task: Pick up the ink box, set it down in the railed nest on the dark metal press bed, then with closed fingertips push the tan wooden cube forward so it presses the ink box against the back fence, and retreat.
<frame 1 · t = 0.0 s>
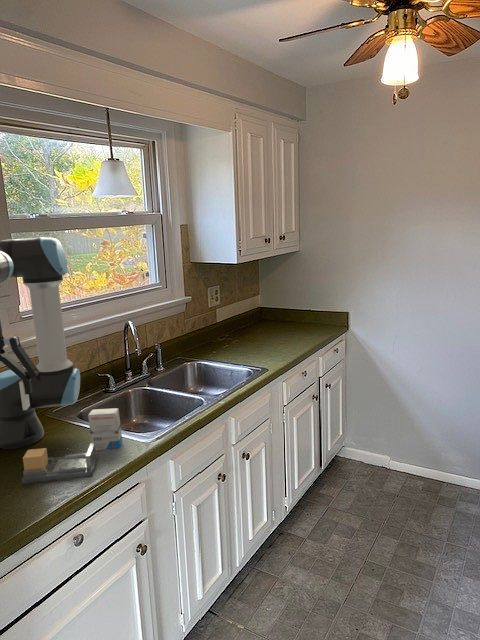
press bed: (65, 470, 137), on the worktop
tan wooden cube: (35, 460, 136), point 4 cm above the worktop, slide at 0.0 cm
ink box: (107, 447, 151), on the worktop
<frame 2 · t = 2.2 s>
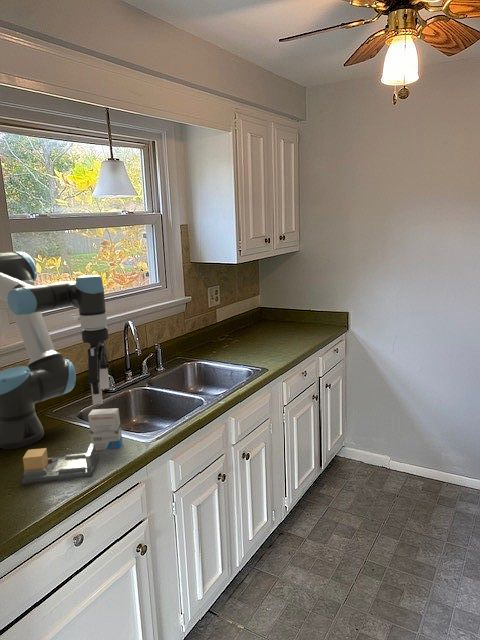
hand: (101, 395, 148), 17 cm above the worktop, fingers open, 13 cm apart
nothing on the worktop moved.
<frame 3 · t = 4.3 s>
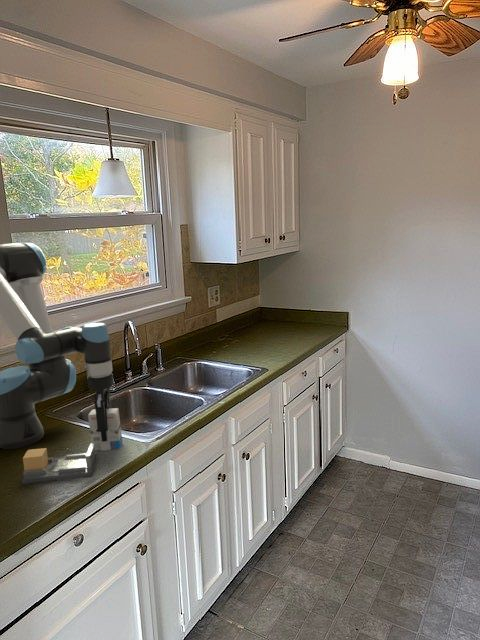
hand: (107, 445, 151), 0 cm above the worktop, fingers closed on ink box, 5 cm apart
ink box: (107, 446, 151), on the worktop, touching gripper
everything else where it was.
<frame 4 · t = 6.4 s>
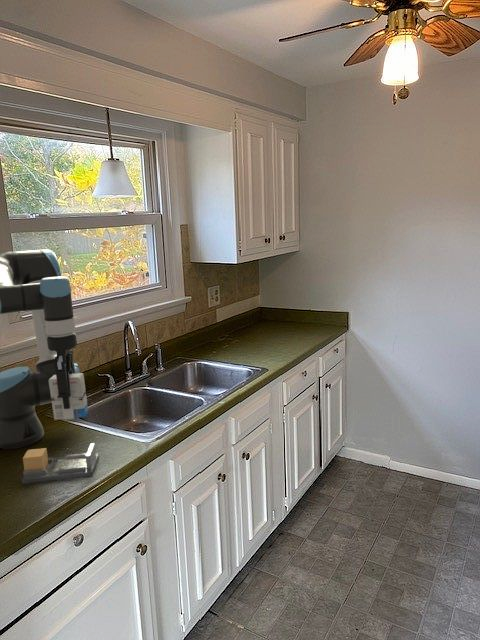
hand: (71, 414, 136), 16 cm above the worktop, fingers closed on ink box, 5 cm apart
ink box: (71, 416, 136), point 15 cm above the worktop, touching gripper
everything else where it was.
when the fingers open (3 cm above the worktop, at t = 8.8 s): ink box stays where it is, resting on press bed.
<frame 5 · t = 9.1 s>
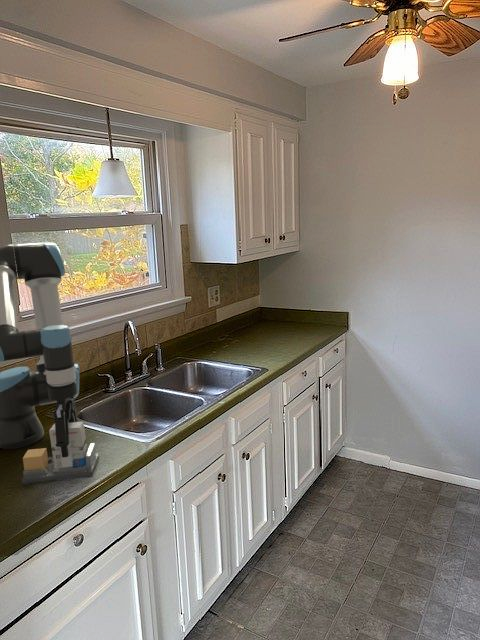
hand: (71, 458, 137), 3 cm above the worktop, fingers open, 8 cm apart
ink box: (71, 464, 137), point 2 cm above the worktop, touching press bed
everything else where it was.
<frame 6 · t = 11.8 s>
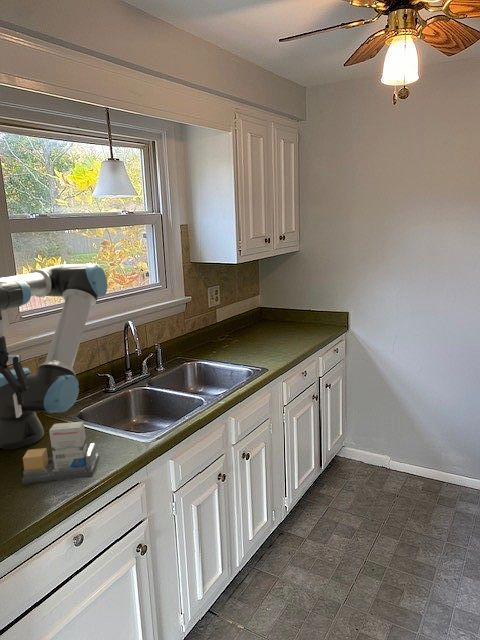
hand: (1, 417, 132), 17 cm above the worktop, fingers open, 9 cm apart
nothing on the worktop moved.
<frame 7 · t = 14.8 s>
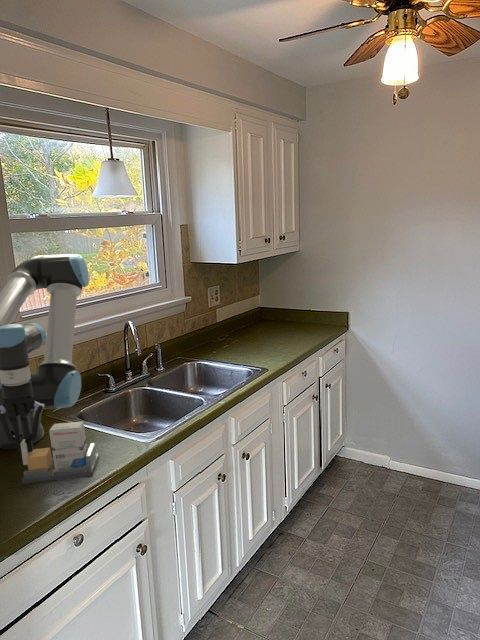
hand: (27, 462, 135), 4 cm above the worktop, fingers closed
tan wooden cube: (39, 459, 136), point 4 cm above the worktop, slide at 1.1 cm, touching gripper
everything else where it was.
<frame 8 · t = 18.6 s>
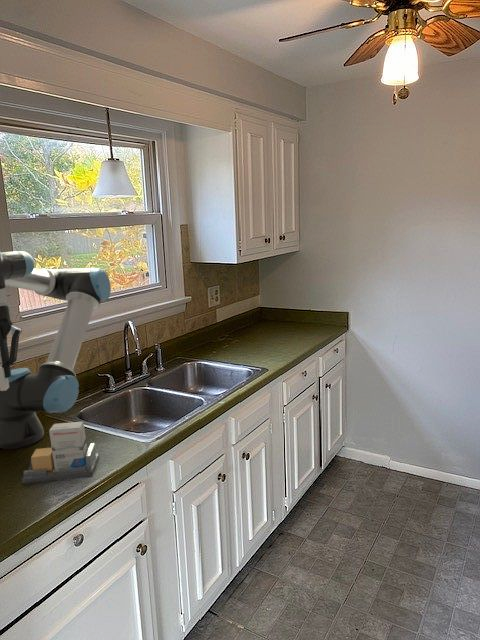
hand: (4, 389, 134), 24 cm above the worktop, fingers closed
tan wooden cube: (44, 459, 136), point 4 cm above the worktop, slide at 2.2 cm
everything else where it was.
at the end: ink box inside the target area (0.4 cm from its centre), point 1.5 cm above the worktop; ink box tilted 0°; tan wooden cube slide at 2.2 cm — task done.
